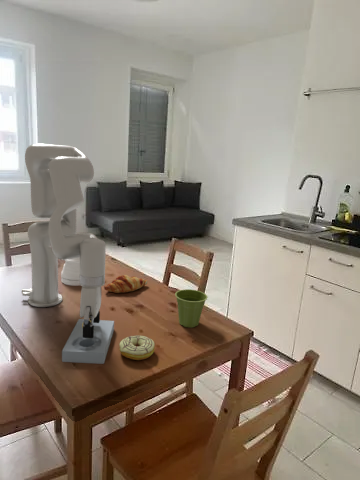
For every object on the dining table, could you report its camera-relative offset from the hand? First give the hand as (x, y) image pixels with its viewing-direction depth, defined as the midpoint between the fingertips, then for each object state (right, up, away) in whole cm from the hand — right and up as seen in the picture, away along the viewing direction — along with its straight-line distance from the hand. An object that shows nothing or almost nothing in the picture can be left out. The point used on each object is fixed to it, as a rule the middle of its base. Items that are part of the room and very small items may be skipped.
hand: (91, 329), depth 113 cm
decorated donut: (+11, -6, -1) cm, 13 cm away
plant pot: (+31, -3, +19) cm, 37 cm away
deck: (0, -5, 0) cm, 5 cm away
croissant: (+6, +5, +43) cm, 43 cm away
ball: (-3, +1, +1) cm, 4 cm away
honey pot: (-19, +9, +49) cm, 54 cm away
